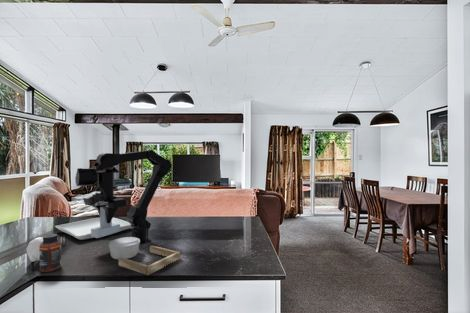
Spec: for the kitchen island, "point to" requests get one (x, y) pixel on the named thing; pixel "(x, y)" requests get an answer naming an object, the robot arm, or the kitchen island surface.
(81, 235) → the square plate
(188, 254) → the kitchen island surface
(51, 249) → the supplement bottle
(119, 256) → the ramekin
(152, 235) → the kitchen island surface
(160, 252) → the oak corral
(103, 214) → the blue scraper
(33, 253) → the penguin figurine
